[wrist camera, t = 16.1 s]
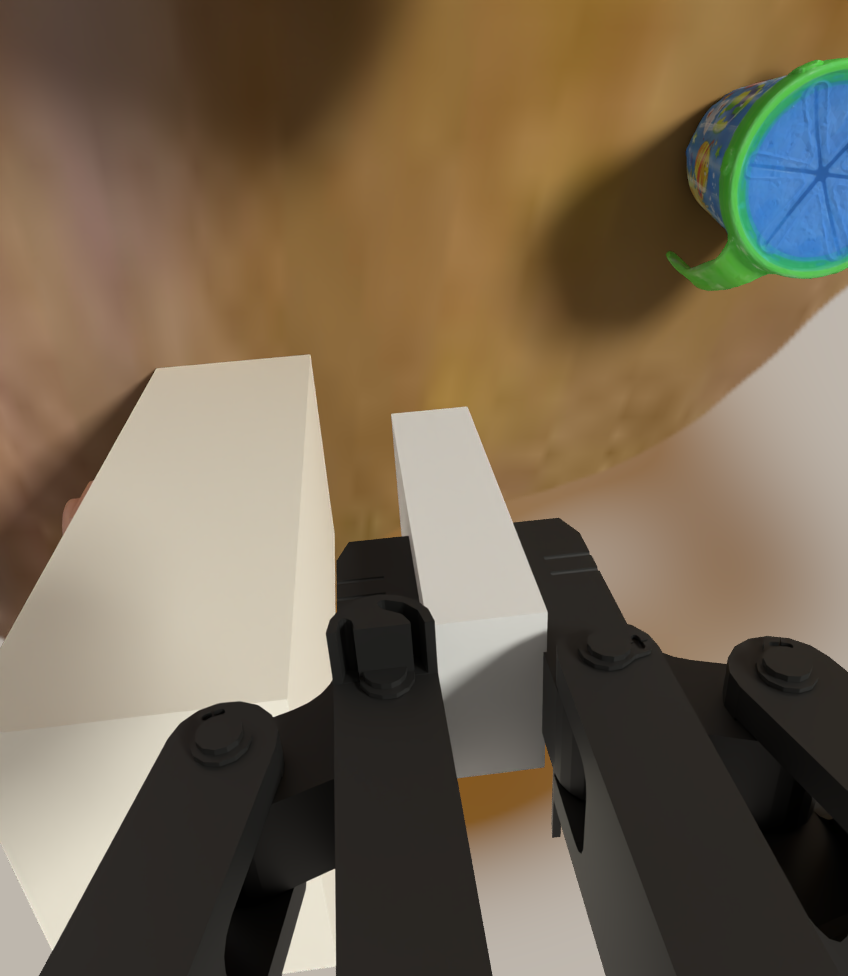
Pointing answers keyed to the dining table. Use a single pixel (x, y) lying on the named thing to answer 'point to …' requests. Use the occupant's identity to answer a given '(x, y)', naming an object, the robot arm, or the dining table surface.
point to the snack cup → (775, 177)
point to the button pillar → (169, 619)
